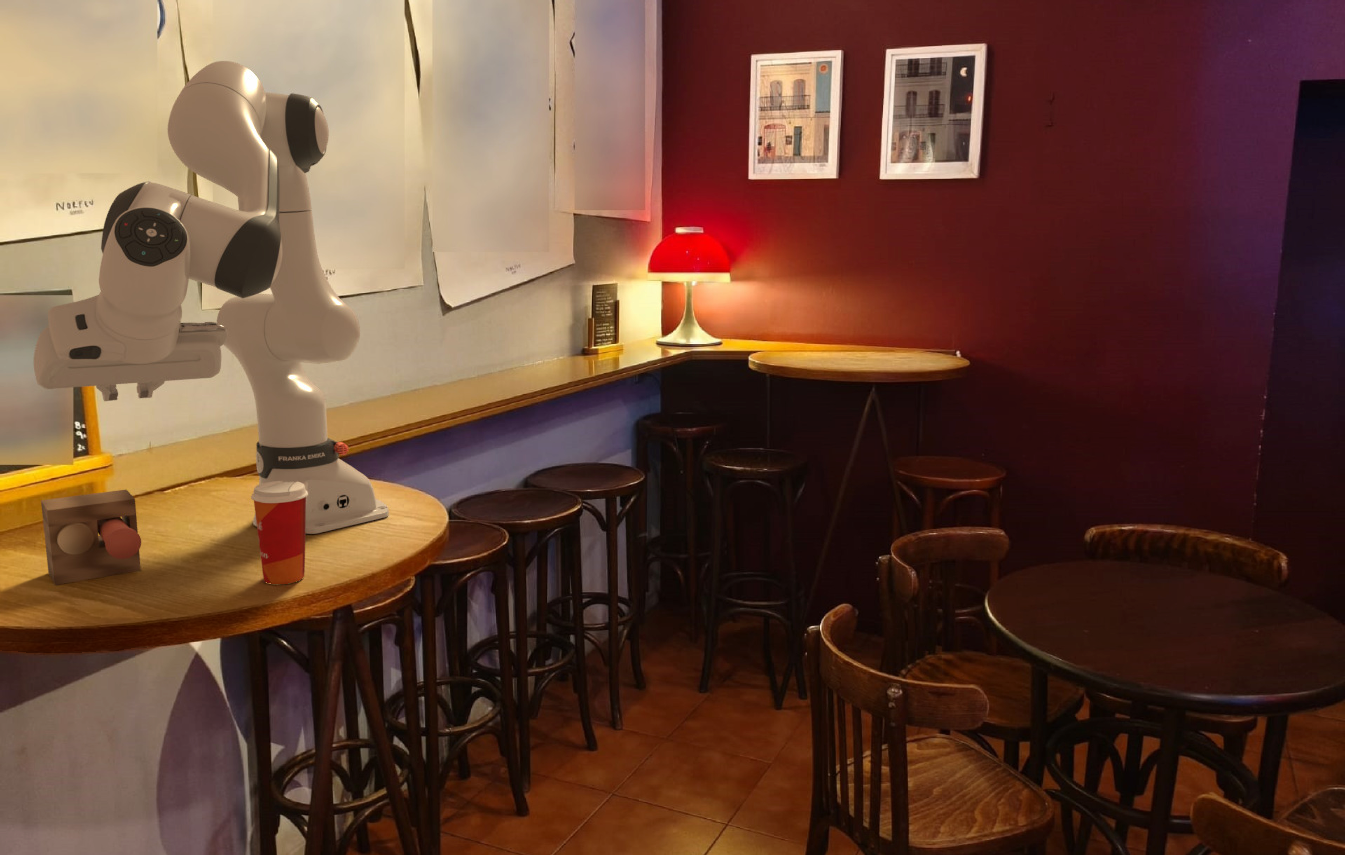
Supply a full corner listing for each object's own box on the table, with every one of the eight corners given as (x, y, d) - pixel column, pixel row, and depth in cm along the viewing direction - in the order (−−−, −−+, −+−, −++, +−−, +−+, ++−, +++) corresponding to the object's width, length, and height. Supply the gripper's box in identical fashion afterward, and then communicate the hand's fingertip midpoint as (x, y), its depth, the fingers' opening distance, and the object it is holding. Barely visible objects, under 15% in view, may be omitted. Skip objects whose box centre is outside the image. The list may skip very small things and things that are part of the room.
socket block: (132, 558, 153) (126, 489, 150) (142, 572, 147) (136, 500, 145) (48, 572, 146) (41, 500, 144) (55, 587, 141) (48, 512, 138)
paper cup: (272, 567, 151) (267, 478, 148) (321, 571, 150) (317, 481, 147) (245, 586, 143) (239, 492, 140) (296, 590, 142) (291, 495, 140)
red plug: (126, 536, 150) (124, 508, 149) (142, 555, 142) (140, 526, 141) (93, 541, 147) (90, 512, 146) (107, 561, 139) (104, 531, 138)
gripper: (224, 303, 125) (208, 369, 135) (32, 308, 113) (29, 381, 122) (236, 342, 123) (219, 407, 132) (42, 352, 110) (38, 423, 120)
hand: (126, 395), depth 127 cm, fingers open, 3 cm apart
